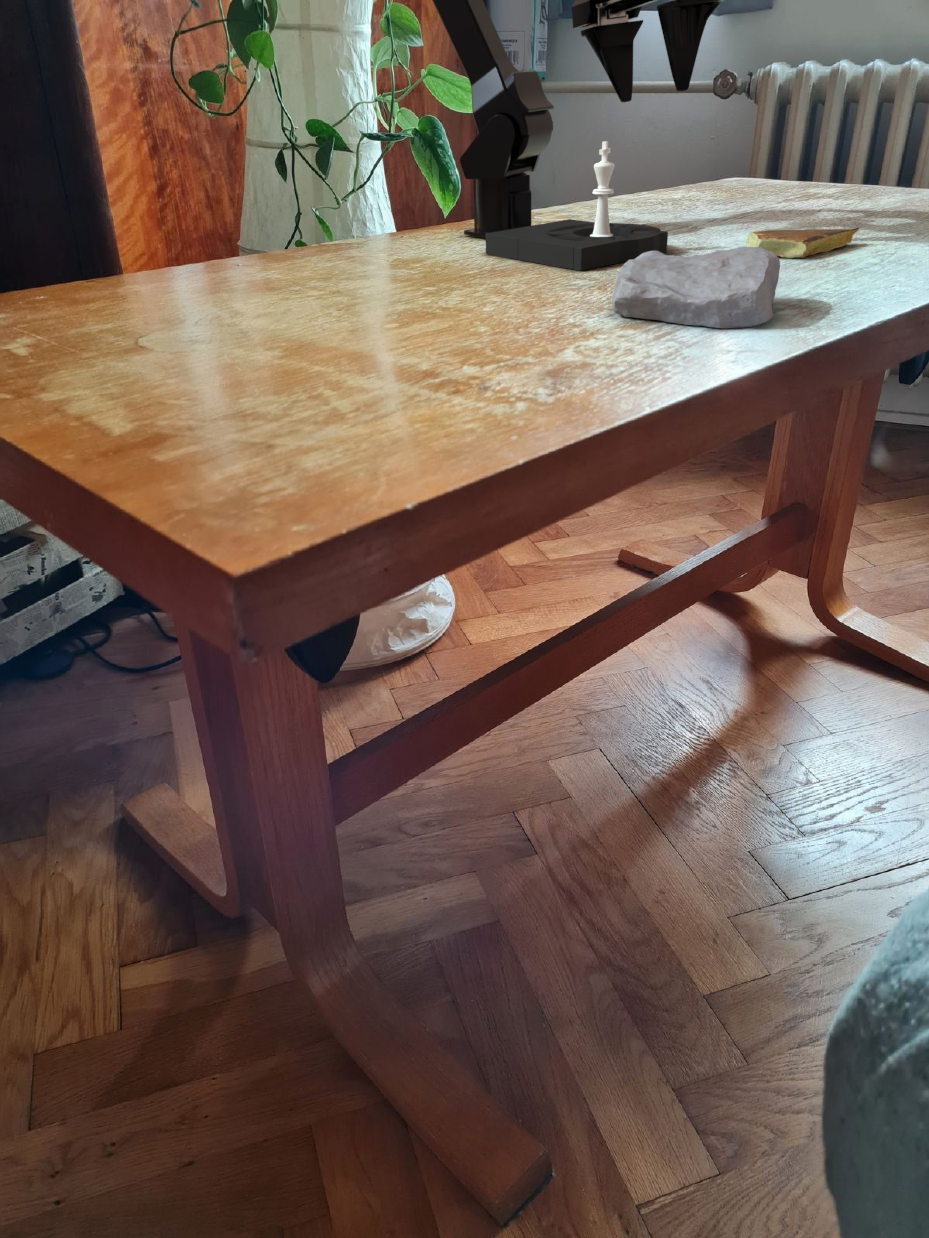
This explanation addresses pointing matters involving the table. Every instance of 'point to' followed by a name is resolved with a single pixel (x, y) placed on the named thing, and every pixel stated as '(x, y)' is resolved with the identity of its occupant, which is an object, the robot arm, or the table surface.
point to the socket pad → (576, 244)
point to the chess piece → (603, 193)
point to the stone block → (699, 287)
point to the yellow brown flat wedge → (800, 241)
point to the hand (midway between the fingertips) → (653, 96)
